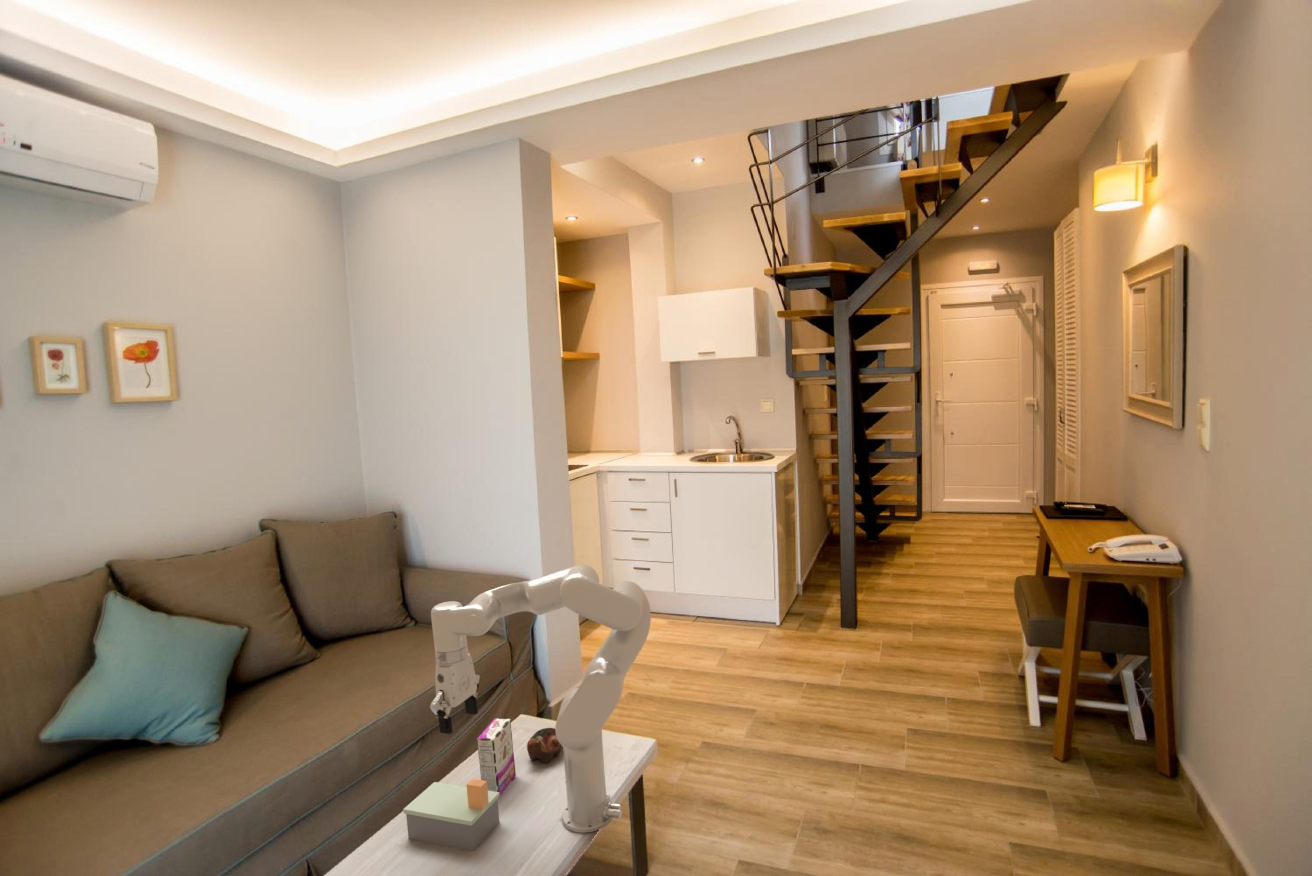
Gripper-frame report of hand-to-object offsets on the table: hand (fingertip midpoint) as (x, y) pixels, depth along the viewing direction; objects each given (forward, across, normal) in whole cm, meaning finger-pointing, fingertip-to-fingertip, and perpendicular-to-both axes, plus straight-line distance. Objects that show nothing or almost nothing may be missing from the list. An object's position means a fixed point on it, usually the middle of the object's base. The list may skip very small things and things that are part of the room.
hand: (459, 723), depth 167 cm
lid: (+18, -4, +1) cm, 19 cm away
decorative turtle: (+26, +33, -2) cm, 42 cm away
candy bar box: (+26, +16, +2) cm, 30 cm away
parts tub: (+26, -4, +2) cm, 26 cm away
